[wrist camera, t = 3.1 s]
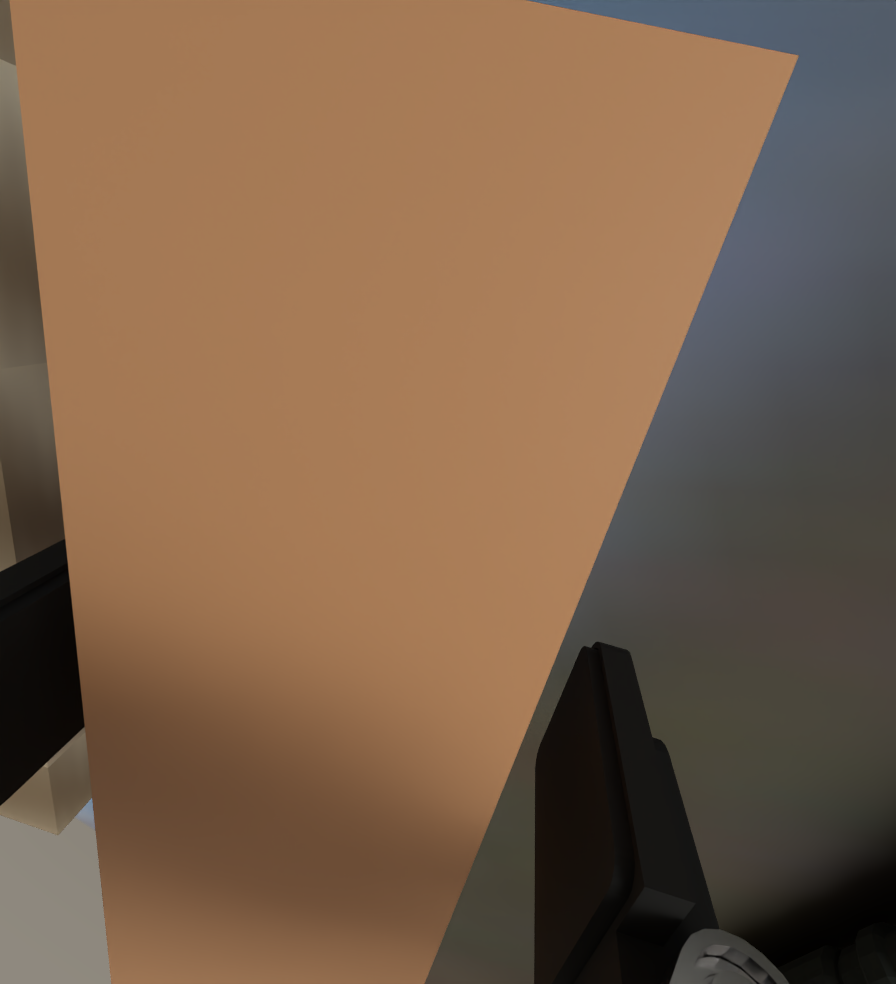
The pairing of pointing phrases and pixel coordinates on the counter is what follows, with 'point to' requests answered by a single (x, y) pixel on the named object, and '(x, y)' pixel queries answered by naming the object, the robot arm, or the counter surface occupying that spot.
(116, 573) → the tan wedge board
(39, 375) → the slotted tan block
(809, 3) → the counter surface
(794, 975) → the flashlight
